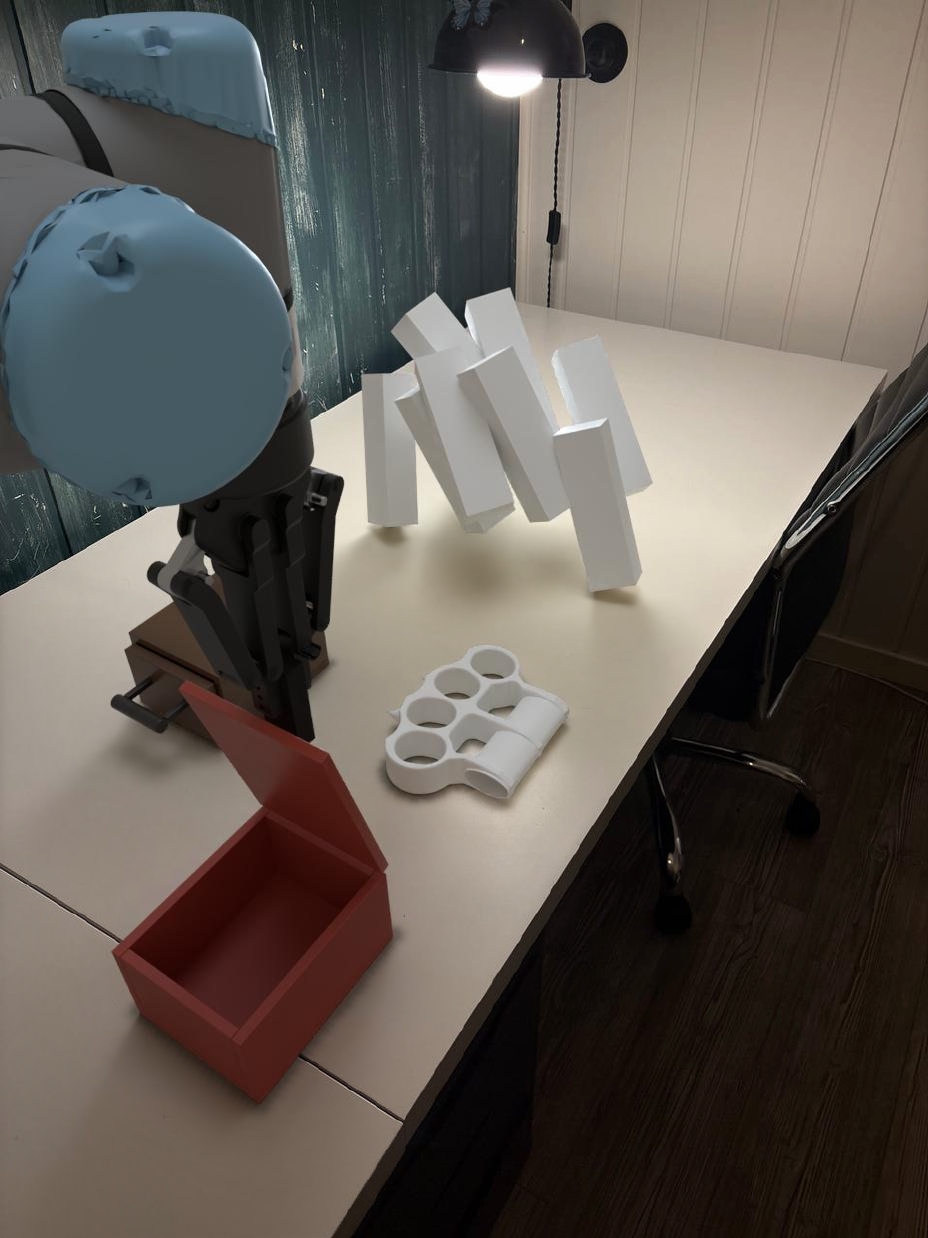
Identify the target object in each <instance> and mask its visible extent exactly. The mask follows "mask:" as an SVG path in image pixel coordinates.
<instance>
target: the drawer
mask: <svg viewBox="0 0 928 1238" xmlns="http://www.w3.org/2000/svg"><path fill="white" fill-rule="evenodd" d="M123 651H124V654H125V656H126V660H127V663H128V666H129V669H130V672H131V675H132V679H133V681H134V685H135V686H134V687H132V688H131V689H130V690H128V691H127V692H126V693H124V694H121V693H117V694H114V696H112V698H111V700H110V703H109V704H110V707H111V708H112V709H114V710H115V711H117V712H119V713H121V714H122V715H124V716H126V717H128V718H130V719H131V720H133V721H135V722H137V723H139V724H140V725H142V726H144V727H145V728H148V729H149V730H151V731H152V732H154V733H157V734H163V733H165V732H166V731H167V730H168V728H169V726H170V722H171V721H174V722H175V723H177V724H179V725H181V726H183V727H185V728H187V729H189V730H190V731H192V732H194V733H196V734H198V735H200V736H201V737H203V738H205V739H207V740H208V741H210V742H212V743H214V744H216V745H218V744H217V743H216V741H215V740H214V739H213V737H212V736H211V734H210V733H209V732H208V730H207V729H206V727H205V726H204V725H203V723H202V722H201V720H200V719H199V718H198V716H197V715H196V713H195V712H194V711H193V709H192V708H191V706H190V705H189V704H188V702H187V701H186V699H185V698H184V697H183V695H182V694H181V692H180V691H179V688H180V687H181V686H182V684H183V683H184V682H185V681H186V680H187V681H189V682H191V683H193V684H195V685H197V686H199V687H201V688H203V689H205V690H207V691H209V692H211V693H212V694H214V695H216V696H218V695H217V691H216V687H215V683H214V681H213V680H211V679H209V678H207V677H205V676H203V675H201V674H199V673H197V672H195V671H193V670H191V669H189V668H188V667H186V666H184V665H182V664H180V663H178V662H176V661H174V660H172V659H170V658H168V657H166V656H164V655H162V654H160V653H158V652H156V651H154V652H155V653H153V652H151V651H149V650H147V649H145V648H143V647H141V646H139V645H137V644H135V643H133V644H132V643H131V644H130V645H128V646H127V647H126V648H125V649H123ZM138 696H139V700H140V702H141V704H143V705H144V706H143V705H141V704H139V703H138V702H136V701H134V699H136V698H137V697H138ZM147 707H148V708H147ZM149 708H150V709H152V710H150V709H149ZM154 711H156V712H154ZM158 713H159V714H158ZM160 714H161V715H160Z"/></svg>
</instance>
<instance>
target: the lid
mask: <svg viewBox="0 0 928 1238" xmlns="http://www.w3.org/2000/svg"><path fill="white" fill-rule="evenodd" d="M179 691H180V692H181V694H182V695H183V697H184V698H185V699H186V701H187V702H188V704H189V705H190V706H191V708H192V709H193V711H194V712H195V713H196V715H197V716H198V718H199V719H200V720H201V722H202V723H203V725H204V726H205V727H206V729H207V730H208V732H209V733H210V734H211V736H212V737H213V739H214V740H215V741H216V743H217V744H216V743H215V744H216V745H217V746H218V748H219V749H220V750H221V752H222V753H223V754H224V756H225V757H226V759H227V760H228V761H229V763H230V764H231V766H232V767H233V768H234V770H235V771H236V773H237V774H238V775H239V777H240V778H241V780H242V781H243V783H244V784H245V785H246V786H247V788H248V790H249V791H250V792H251V793H252V795H253V797H254V798H255V799H256V801H257V803H259V805H260V806H261V807H262V806H264V807H266V808H267V809H269V810H271V811H273V812H275V813H276V814H278V815H280V816H282V817H283V818H285V819H287V820H289V821H290V822H292V823H294V824H296V825H297V826H299V827H301V828H303V829H304V830H306V831H308V832H310V833H312V834H313V835H315V836H317V837H319V838H320V839H322V840H324V841H326V842H327V843H329V844H331V845H333V846H334V847H336V848H338V849H340V850H341V851H343V852H345V853H347V854H348V855H350V856H352V857H354V858H356V859H357V860H359V861H361V862H363V863H364V864H366V865H368V866H370V867H371V868H373V869H375V870H377V871H378V872H380V873H385V871H386V870H387V868H388V867H389V863H388V861H387V859H386V857H385V855H384V853H383V851H382V849H381V848H380V846H379V844H378V842H377V840H376V838H375V836H374V835H373V832H372V830H371V829H370V826H369V825H368V823H367V822H366V819H365V818H364V815H363V813H362V812H361V809H359V807H358V804H357V803H356V801H355V799H354V797H353V795H352V793H351V791H350V790H349V788H348V786H347V784H346V782H345V781H344V779H343V777H342V775H341V773H340V771H339V769H338V768H337V765H336V764H335V762H334V760H333V758H332V756H331V755H330V753H329V752H327V751H326V750H324V749H322V748H320V747H318V746H317V745H314V744H312V743H311V742H310V743H308V742H306V741H304V740H302V739H300V738H298V737H296V736H294V735H293V734H291V733H289V732H287V731H285V730H283V729H281V728H279V727H277V726H275V725H273V724H271V723H269V722H267V721H265V720H263V719H261V718H259V717H257V716H255V715H253V714H252V713H250V712H248V711H246V710H244V709H242V708H240V707H238V706H236V705H234V704H232V703H230V702H228V701H226V700H224V699H222V698H220V697H218V696H216V695H214V694H212V693H211V692H209V691H207V690H205V689H203V688H201V687H199V686H197V685H195V684H193V683H191V682H189V681H187V680H186V681H185V682H184V683H183V684H182V686H181V687H180V688H179Z"/></svg>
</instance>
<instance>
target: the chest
mask: <svg viewBox="0 0 928 1238" xmlns="http://www.w3.org/2000/svg"><path fill="white" fill-rule="evenodd" d="M387 879H388V878H387V874H386V872H384V873H380V872H378V871H377V870H375V869H373V868H371V867H370V866H368V865H366V864H364V863H363V862H361V861H359V860H357V859H356V858H354V857H352V856H350V855H348V854H347V853H345V852H343V851H341V850H340V849H338V848H336V847H334V846H333V845H331V844H329V843H327V842H326V841H324V840H322V839H320V838H319V837H317V836H315V835H313V834H312V833H310V832H308V831H306V830H304V829H303V828H301V827H299V826H297V825H296V824H294V823H292V822H290V821H289V820H287V819H285V818H283V817H282V816H280V815H278V814H276V813H275V812H273V811H271V810H269V809H267V808H266V807H264V806H262V805H261V807H260V808H259V809H258V810H257V811H256V812H255V813H254V814H253V815H252V816H251V817H250V818H248V819H247V820H246V821H245V822H244V823H243V824H242V825H241V826H240V827H239V828H238V829H237V830H236V831H235V832H234V833H233V834H231V836H230V837H229V838H228V839H226V841H225V842H223V843H222V845H220V846H219V847H218V848H217V849H216V850H215V851H214V852H213V853H212V854H211V855H210V856H209V857H208V858H207V859H206V860H204V862H203V863H202V864H200V866H198V867H197V869H195V871H193V873H191V874H190V875H189V876H188V877H187V878H186V879H185V880H184V881H183V882H182V883H181V884H180V885H179V886H178V887H177V888H175V890H174V891H172V892H171V893H170V894H169V895H168V896H167V897H166V898H165V899H164V900H163V901H162V902H161V903H160V904H159V905H157V907H156V908H155V909H154V910H152V912H150V913H149V915H148V916H147V917H145V918H144V919H143V920H142V921H141V922H140V923H139V924H138V925H137V926H136V927H134V929H133V930H132V931H131V932H130V933H128V935H127V936H125V938H124V939H123V940H122V941H120V942H119V943H118V944H117V945H116V946H115V947H114V948H113V949H112V950H111V951H110V952H111V954H112V956H113V958H114V961H115V963H116V965H117V967H118V970H119V972H120V974H121V976H122V978H123V980H124V982H125V985H126V987H127V989H128V991H129V993H130V995H131V997H132V999H133V1001H134V1004H135V1006H136V1008H137V1010H138V1012H139V1013H140V1014H141V1015H142V1016H144V1017H145V1018H146V1019H147V1020H149V1021H150V1022H152V1023H153V1024H154V1025H155V1026H157V1027H158V1028H160V1030H162V1031H163V1032H165V1033H166V1034H167V1035H169V1037H171V1038H172V1039H174V1040H175V1041H176V1042H178V1043H179V1044H181V1045H182V1046H183V1047H184V1048H186V1049H187V1050H188V1051H190V1052H191V1053H193V1054H194V1055H195V1056H196V1057H197V1058H199V1059H200V1060H201V1061H203V1062H204V1063H205V1064H207V1065H208V1066H209V1067H210V1068H212V1069H213V1070H215V1071H216V1072H217V1073H218V1074H220V1075H221V1076H223V1077H224V1078H225V1079H226V1080H228V1081H230V1083H231V1084H233V1085H235V1086H236V1087H237V1088H238V1089H239V1090H241V1091H243V1092H244V1094H246V1095H247V1096H249V1097H250V1098H252V1099H253V1100H254V1101H255V1102H257V1103H258V1104H262V1102H263V1101H264V1100H265V1098H266V1097H267V1096H268V1095H269V1093H271V1091H272V1090H273V1088H275V1086H276V1084H277V1083H278V1082H279V1081H280V1079H281V1078H282V1077H283V1076H284V1074H286V1072H287V1071H288V1070H289V1068H290V1067H291V1066H292V1065H293V1064H294V1062H295V1061H296V1059H297V1058H298V1057H299V1056H300V1055H301V1053H302V1052H303V1050H304V1049H305V1048H306V1047H307V1045H308V1044H310V1041H311V1040H312V1039H313V1038H314V1037H315V1035H316V1034H317V1033H318V1031H319V1030H320V1029H321V1028H322V1026H323V1025H324V1024H325V1023H326V1021H327V1020H328V1019H329V1018H330V1017H331V1015H332V1014H333V1013H334V1011H335V1010H336V1009H337V1008H338V1006H339V1005H340V1004H341V1003H342V1001H343V1000H344V999H345V997H346V996H347V995H348V994H349V993H350V991H351V990H352V989H353V987H354V986H355V985H356V984H357V983H358V981H359V980H360V979H361V978H362V976H363V975H364V973H365V972H366V971H367V969H368V968H369V967H370V966H371V965H372V963H373V962H374V961H375V960H376V958H377V957H378V955H379V954H380V953H381V952H382V951H383V949H384V948H385V947H386V946H387V945H388V944H389V942H390V941H391V939H392V938H393V937H394V934H393V933H394V931H393V923H392V913H391V905H390V897H389V887H388V880H387Z"/></svg>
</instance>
